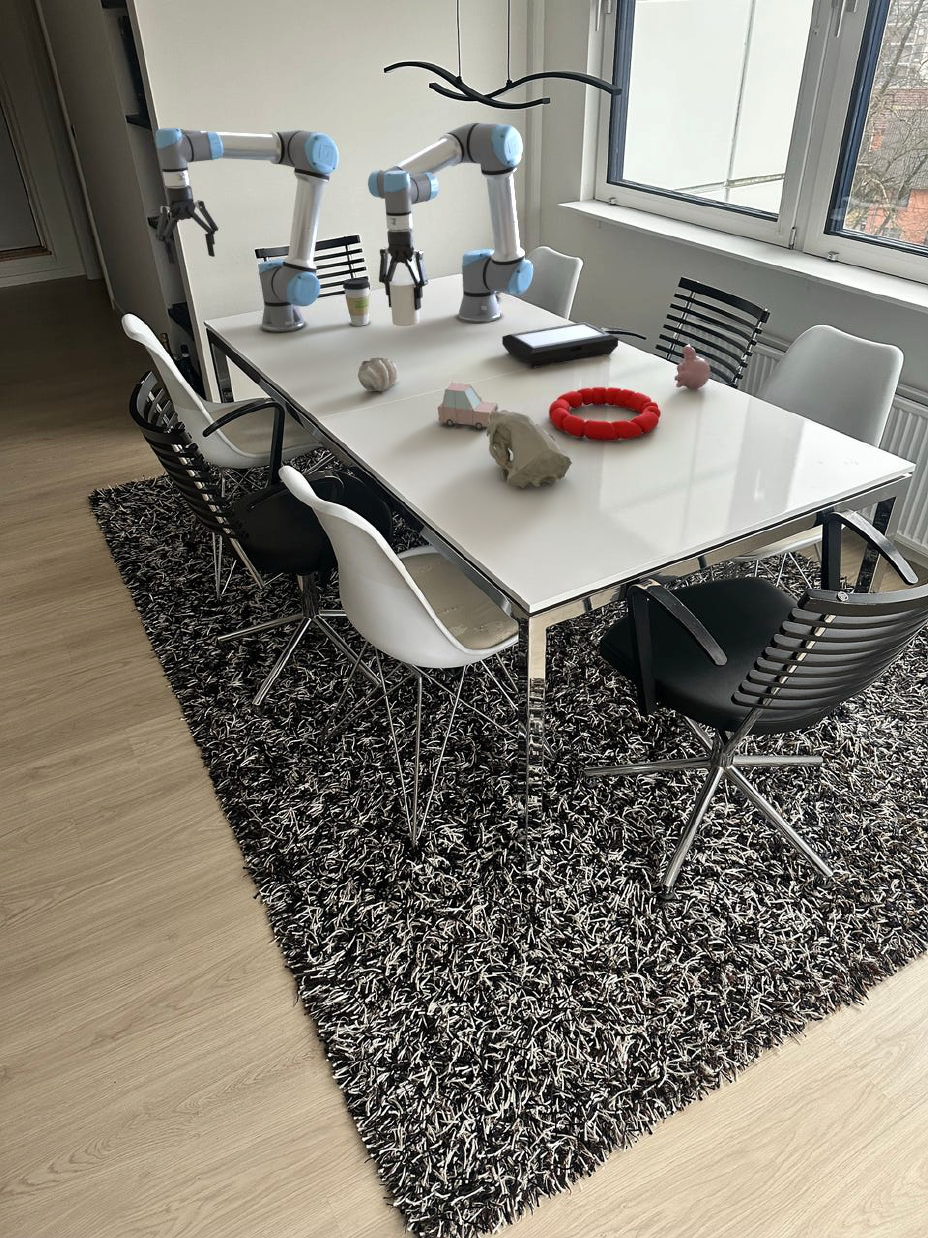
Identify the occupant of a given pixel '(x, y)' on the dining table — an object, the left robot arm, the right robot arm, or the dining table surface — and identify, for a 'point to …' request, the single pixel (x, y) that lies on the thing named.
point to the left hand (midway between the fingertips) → (192, 259)
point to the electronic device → (559, 344)
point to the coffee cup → (357, 300)
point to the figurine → (692, 370)
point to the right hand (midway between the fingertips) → (404, 307)
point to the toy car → (465, 406)
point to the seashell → (377, 374)
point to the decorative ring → (604, 428)
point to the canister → (403, 302)
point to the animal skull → (525, 450)
